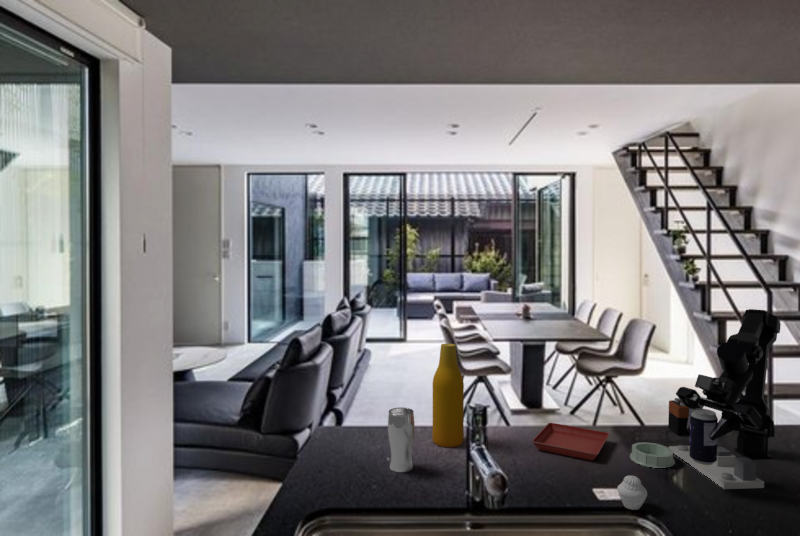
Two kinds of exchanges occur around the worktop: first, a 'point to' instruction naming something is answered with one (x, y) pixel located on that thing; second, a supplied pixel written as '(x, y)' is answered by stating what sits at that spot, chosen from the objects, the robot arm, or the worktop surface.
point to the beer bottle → (448, 400)
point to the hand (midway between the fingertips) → (699, 434)
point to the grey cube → (723, 452)
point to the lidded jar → (632, 492)
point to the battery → (678, 417)
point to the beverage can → (703, 436)
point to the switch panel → (725, 470)
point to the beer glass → (401, 438)
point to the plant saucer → (570, 441)
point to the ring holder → (652, 455)
